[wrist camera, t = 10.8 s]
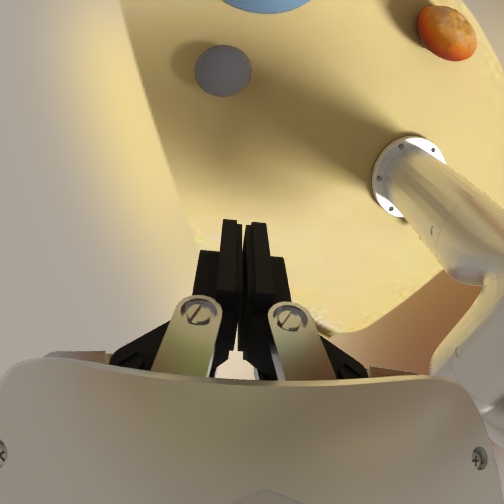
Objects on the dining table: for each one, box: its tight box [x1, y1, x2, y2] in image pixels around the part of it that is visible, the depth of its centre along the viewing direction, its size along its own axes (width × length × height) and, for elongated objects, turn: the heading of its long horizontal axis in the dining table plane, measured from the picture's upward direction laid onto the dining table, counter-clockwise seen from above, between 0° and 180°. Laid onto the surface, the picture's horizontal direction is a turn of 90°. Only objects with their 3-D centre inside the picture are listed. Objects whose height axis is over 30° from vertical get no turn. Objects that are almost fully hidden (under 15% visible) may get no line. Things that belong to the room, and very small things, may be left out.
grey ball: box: [195, 45, 251, 97], centre depth 28 cm, size 6×6×6 cm
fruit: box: [417, 5, 477, 61], centre depth 23 cm, size 8×8×8 cm
